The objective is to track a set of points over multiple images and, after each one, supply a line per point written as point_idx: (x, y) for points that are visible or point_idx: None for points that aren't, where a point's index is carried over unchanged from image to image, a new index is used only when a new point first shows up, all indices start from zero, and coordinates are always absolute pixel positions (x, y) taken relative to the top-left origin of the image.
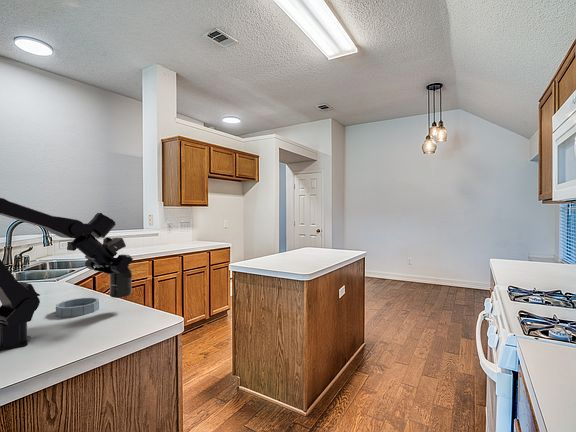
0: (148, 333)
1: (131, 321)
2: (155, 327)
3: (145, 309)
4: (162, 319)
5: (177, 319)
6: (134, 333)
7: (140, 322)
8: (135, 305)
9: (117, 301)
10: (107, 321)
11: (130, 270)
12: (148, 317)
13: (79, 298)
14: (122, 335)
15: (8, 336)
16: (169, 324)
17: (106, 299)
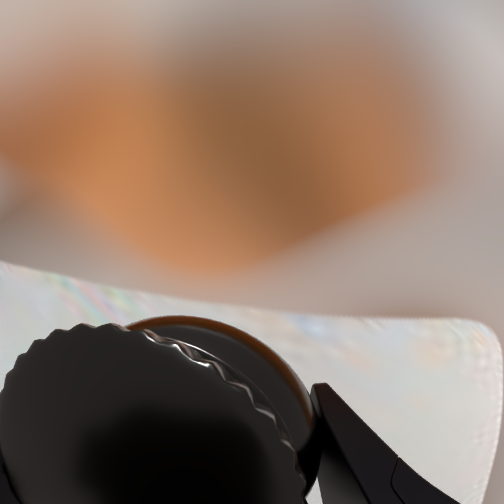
0: (497, 442)
1: (395, 448)
2: (488, 413)
3: (314, 333)
4: (462, 365)
5: (489, 334)
6: (473, 470)
7: (429, 430)
8: (212, 314)
9: (89, 303)
10: (307, 500)
11: (285, 372)
12: (413, 387)
13: None
14: (456, 497)
15: None
16: (499, 373)
17: (39, 300)
